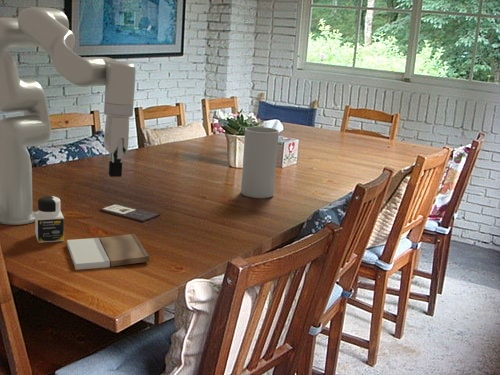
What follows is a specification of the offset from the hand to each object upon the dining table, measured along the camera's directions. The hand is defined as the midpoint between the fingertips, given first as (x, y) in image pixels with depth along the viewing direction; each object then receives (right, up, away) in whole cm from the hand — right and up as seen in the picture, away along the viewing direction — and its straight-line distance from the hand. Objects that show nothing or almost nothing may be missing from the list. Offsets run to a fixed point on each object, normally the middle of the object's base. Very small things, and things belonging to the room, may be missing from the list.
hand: (115, 175), depth 174 cm
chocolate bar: (-3, -12, +37) cm, 39 cm away
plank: (+2, -21, +2) cm, 21 cm away
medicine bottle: (-21, -18, +9) cm, 29 cm away
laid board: (-7, -22, -2) cm, 23 cm away
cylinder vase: (+39, -6, +70) cm, 80 cm away
